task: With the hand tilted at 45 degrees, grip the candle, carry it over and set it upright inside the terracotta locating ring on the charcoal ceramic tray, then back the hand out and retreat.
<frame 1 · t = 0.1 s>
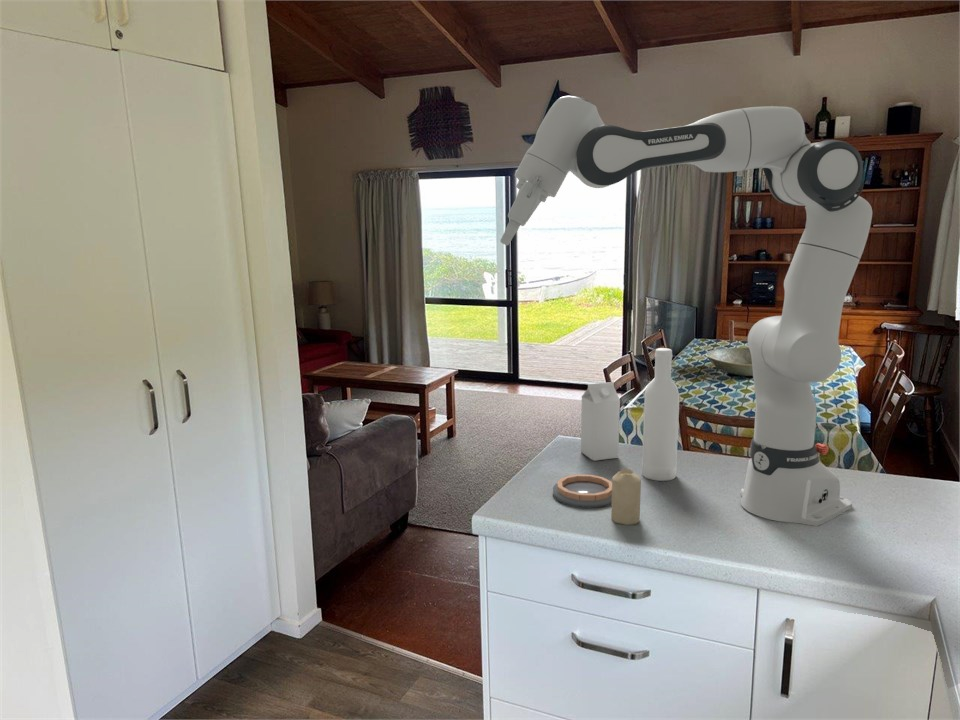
hand: (504, 243, 129), 54 cm above the worktop, tool tilted 30°, fingers open, 8 cm apart
candle: (625, 520, 132), on the worktop
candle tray: (585, 494, 145), on the worktop
bottle: (658, 476, 156), on the worktop
milk carton: (599, 456, 170), on the worktop
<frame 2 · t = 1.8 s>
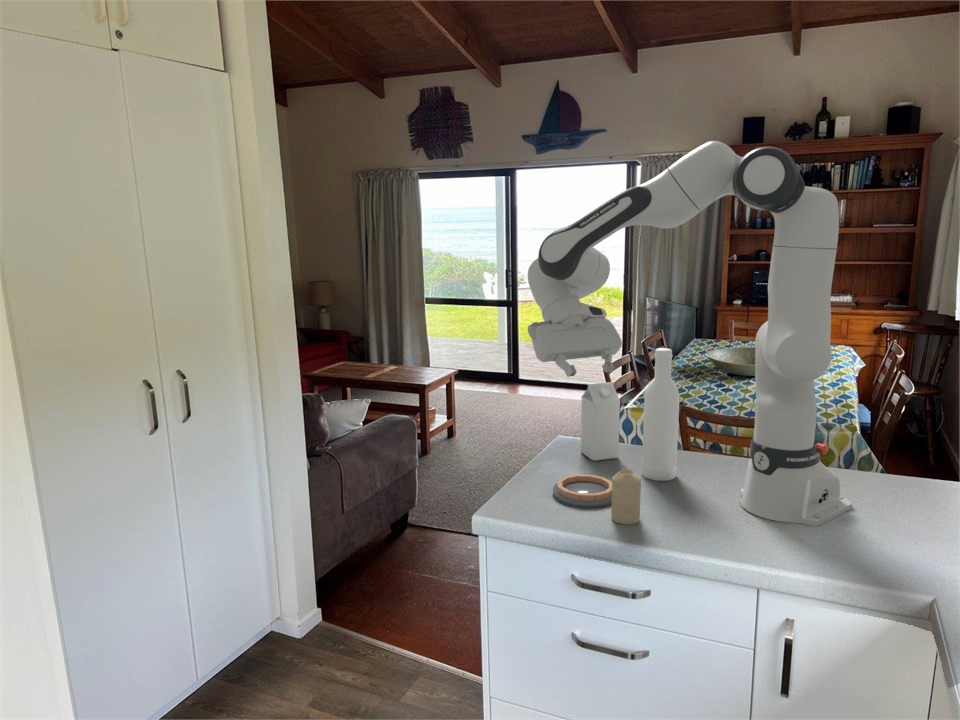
hand: (591, 372, 138), 28 cm above the worktop, tool tilted 45°, fingers open, 8 cm apart
nothing on the worktop moved.
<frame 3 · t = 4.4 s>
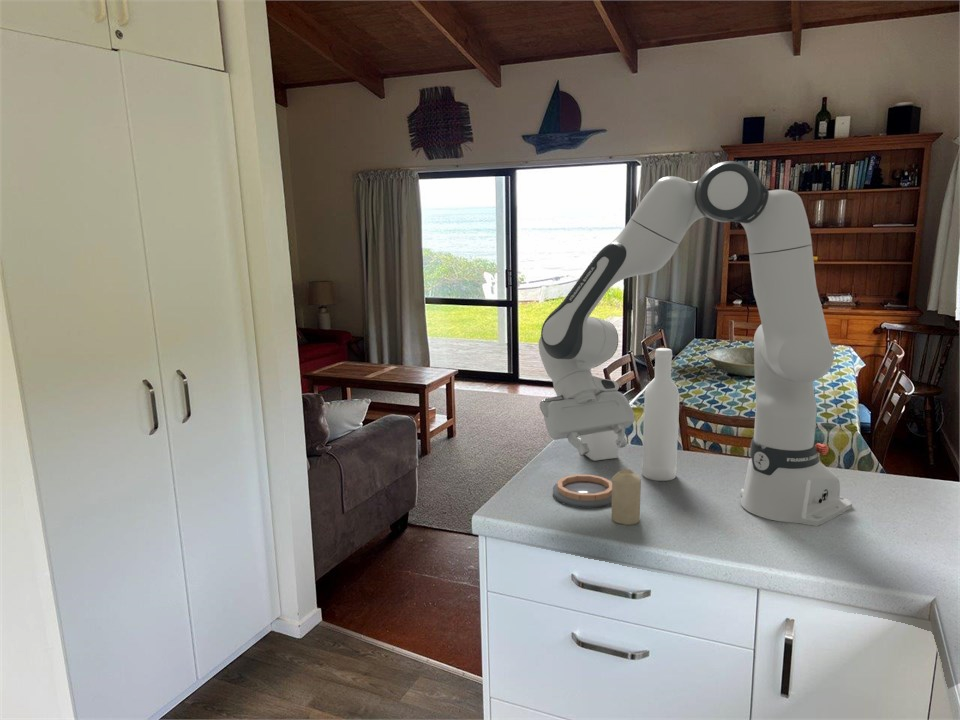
hand: (604, 449, 137), 12 cm above the worktop, tool tilted 45°, fingers open, 8 cm apart
nothing on the worktop moved.
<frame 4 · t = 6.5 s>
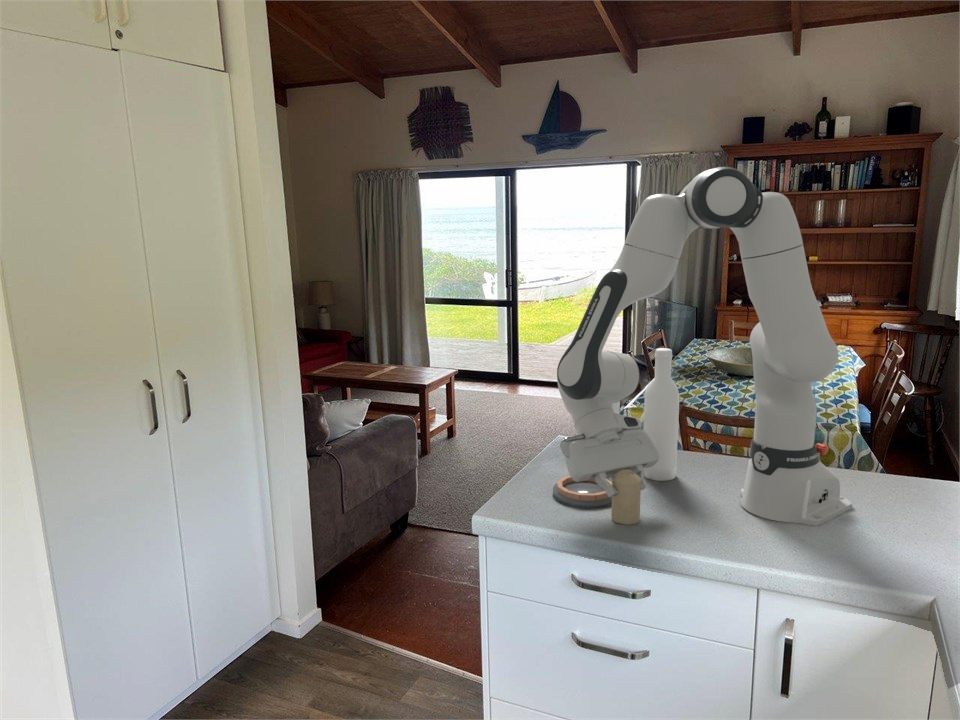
hand: (628, 492, 130), 6 cm above the worktop, tool tilted 45°, fingers closed on candle, 5 cm apart
candle: (625, 520, 132), on the worktop, touching gripper
everything else where it was.
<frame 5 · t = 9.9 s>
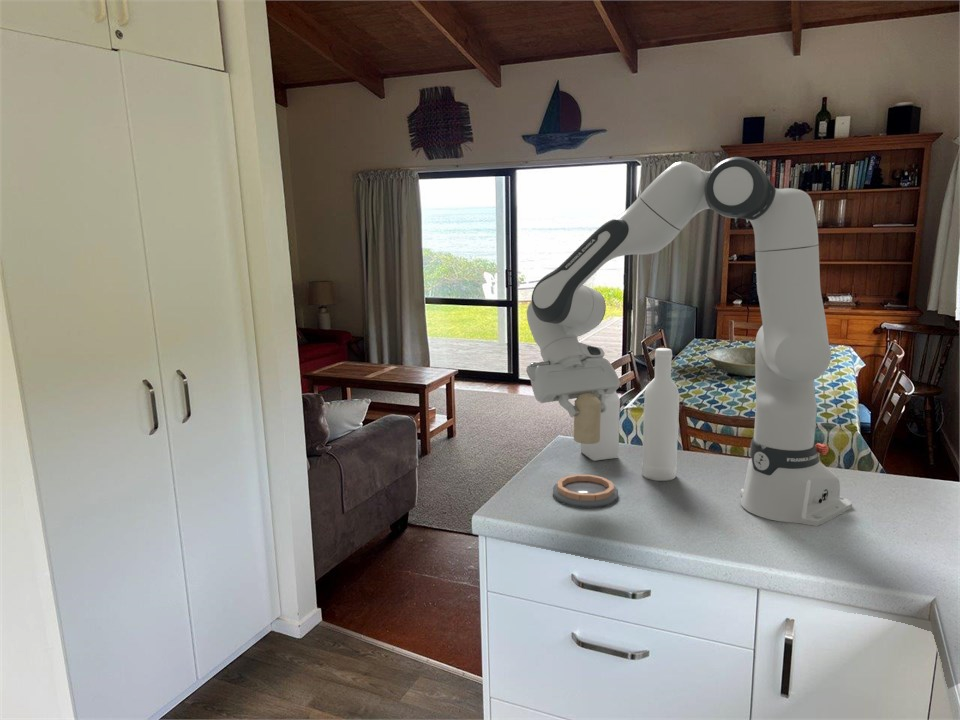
hand: (589, 413, 140), 19 cm above the worktop, tool tilted 45°, fingers closed on candle, 5 cm apart
candle: (586, 441, 142), point 12 cm above the worktop, touching gripper
everything else where it was.
when the fingers open (9 cm above the worktop, at t = 12.8 s): candle drops 2 cm, resting on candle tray.
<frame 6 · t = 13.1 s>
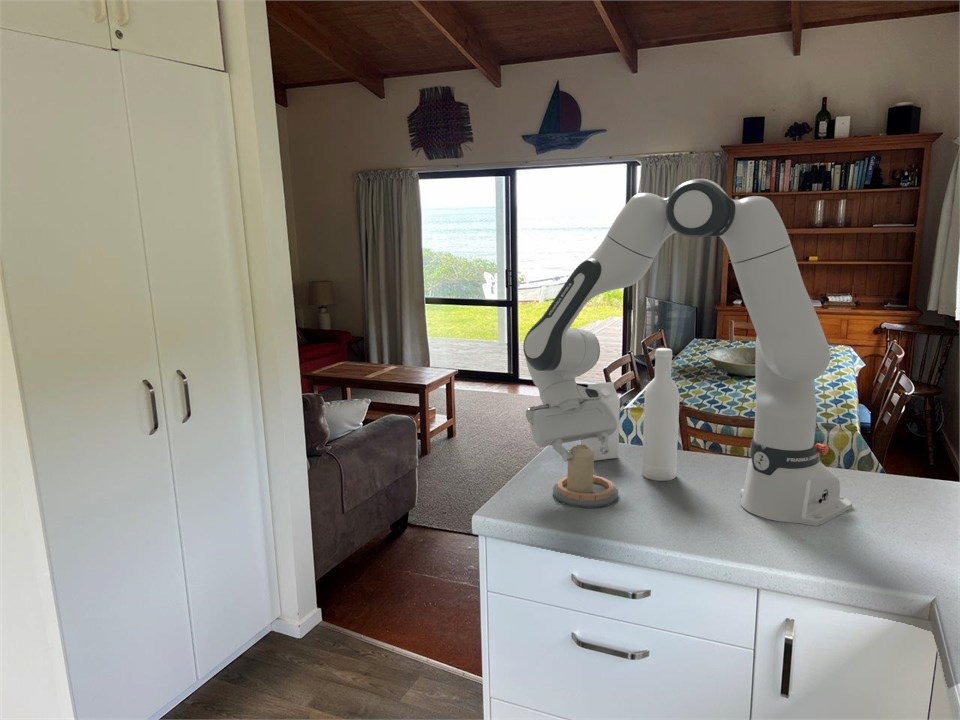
hand: (587, 456, 142), 9 cm above the worktop, tool tilted 45°, fingers open, 8 cm apart
candle: (579, 491, 144), point 1 cm above the worktop, touching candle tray, gripper
everything else where it was.
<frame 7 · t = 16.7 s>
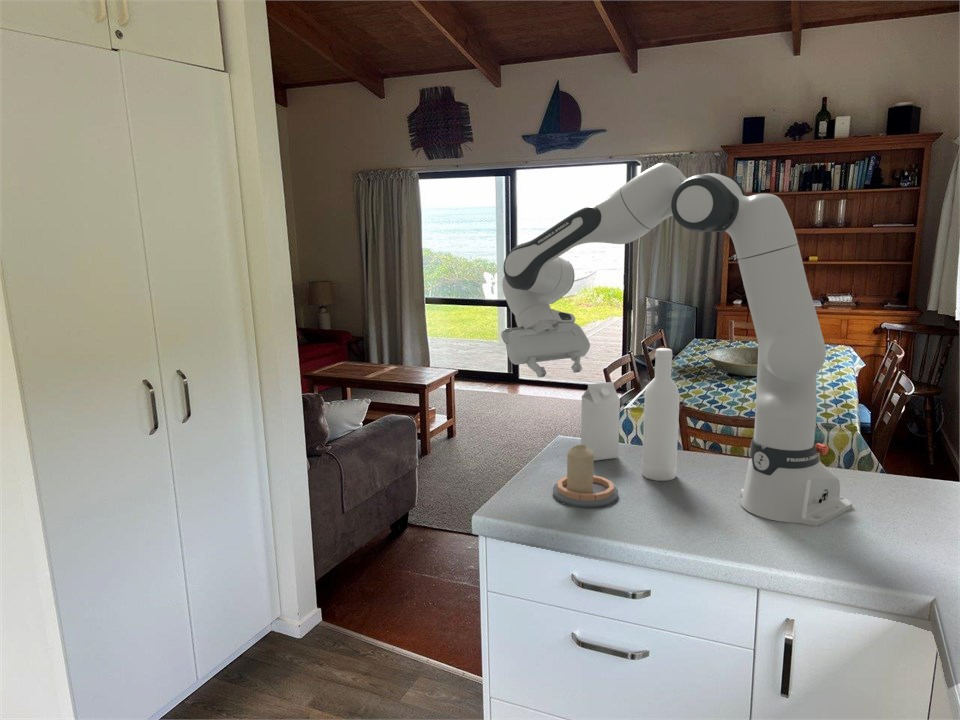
hand: (560, 373, 149), 25 cm above the worktop, tool tilted 45°, fingers open, 8 cm apart
candle: (579, 491, 144), point 1 cm above the worktop, touching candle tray
everything else where it was.
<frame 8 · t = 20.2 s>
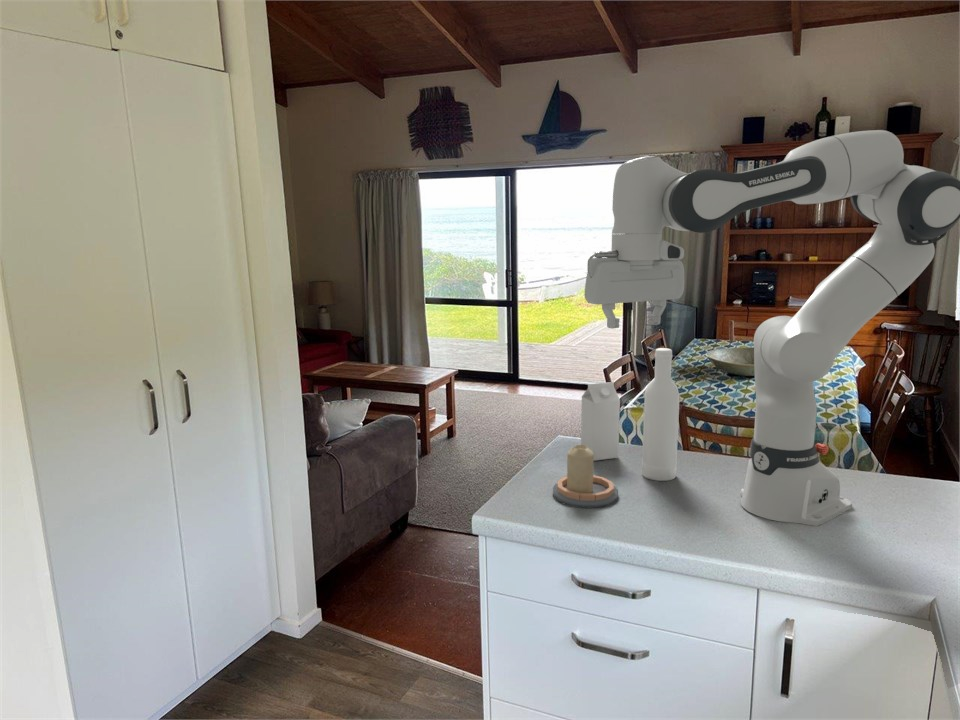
hand: (633, 326, 123), 39 cm above the worktop, tool pointing down, fingers open, 8 cm apart
nothing on the worktop moved.
at the end: candle 1.4 cm off-centre on the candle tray, point 1.0 cm above the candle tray's base; candle tilted 0°; the gripper is holding nothing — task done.
